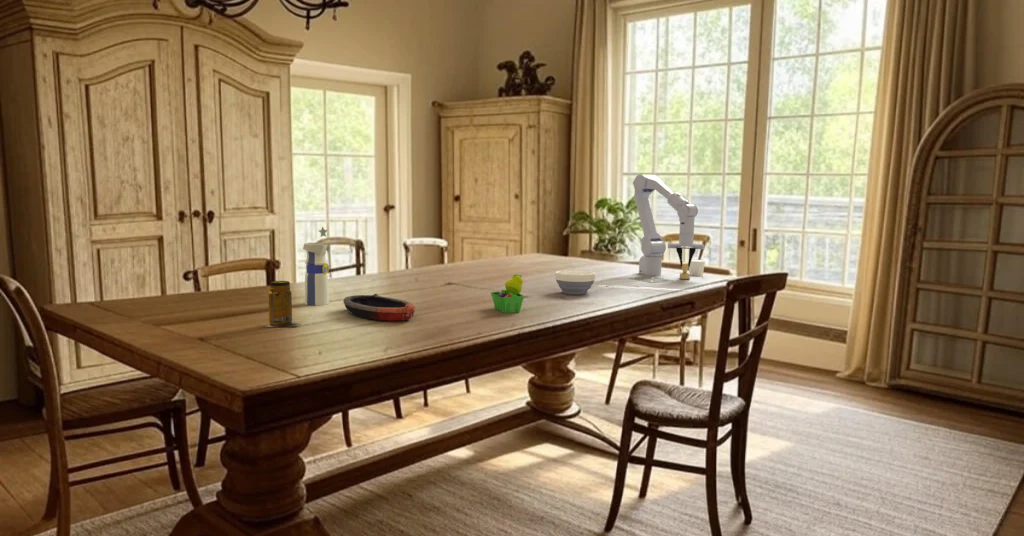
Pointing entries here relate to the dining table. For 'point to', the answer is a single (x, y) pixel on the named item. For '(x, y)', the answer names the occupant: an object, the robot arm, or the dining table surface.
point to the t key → (684, 271)
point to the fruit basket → (509, 296)
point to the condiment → (280, 305)
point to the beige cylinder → (696, 267)
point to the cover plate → (652, 279)
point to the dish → (379, 307)
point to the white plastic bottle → (316, 273)
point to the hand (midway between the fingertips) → (685, 266)
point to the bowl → (574, 281)
